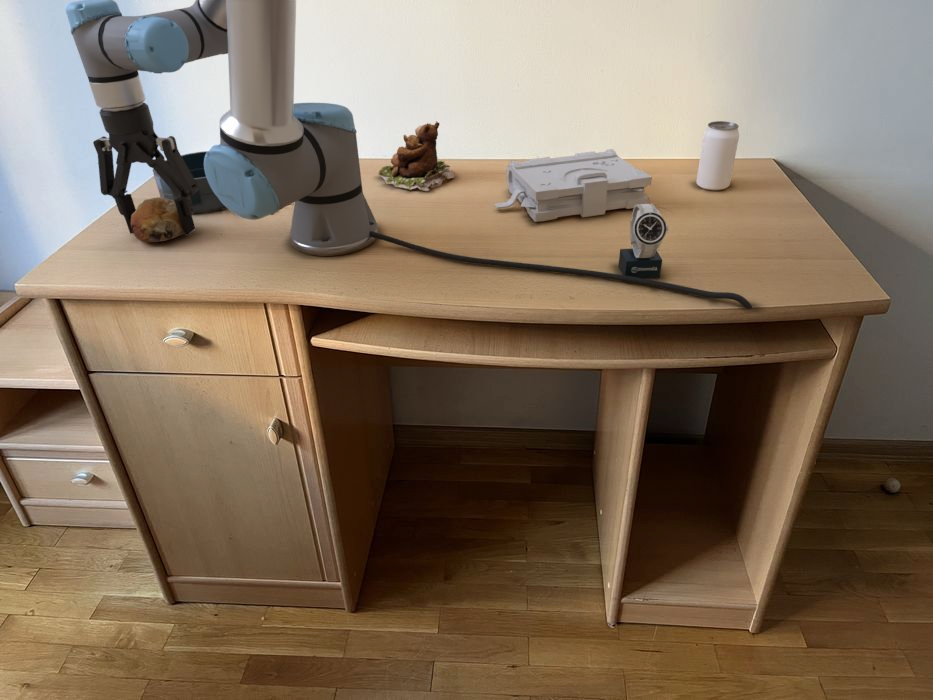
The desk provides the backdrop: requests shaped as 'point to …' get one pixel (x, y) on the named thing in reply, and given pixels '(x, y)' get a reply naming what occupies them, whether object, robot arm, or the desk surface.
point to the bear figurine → (417, 162)
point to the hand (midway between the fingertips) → (162, 231)
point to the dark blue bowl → (204, 196)
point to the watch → (644, 243)
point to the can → (717, 155)
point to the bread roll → (156, 220)
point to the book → (575, 185)
